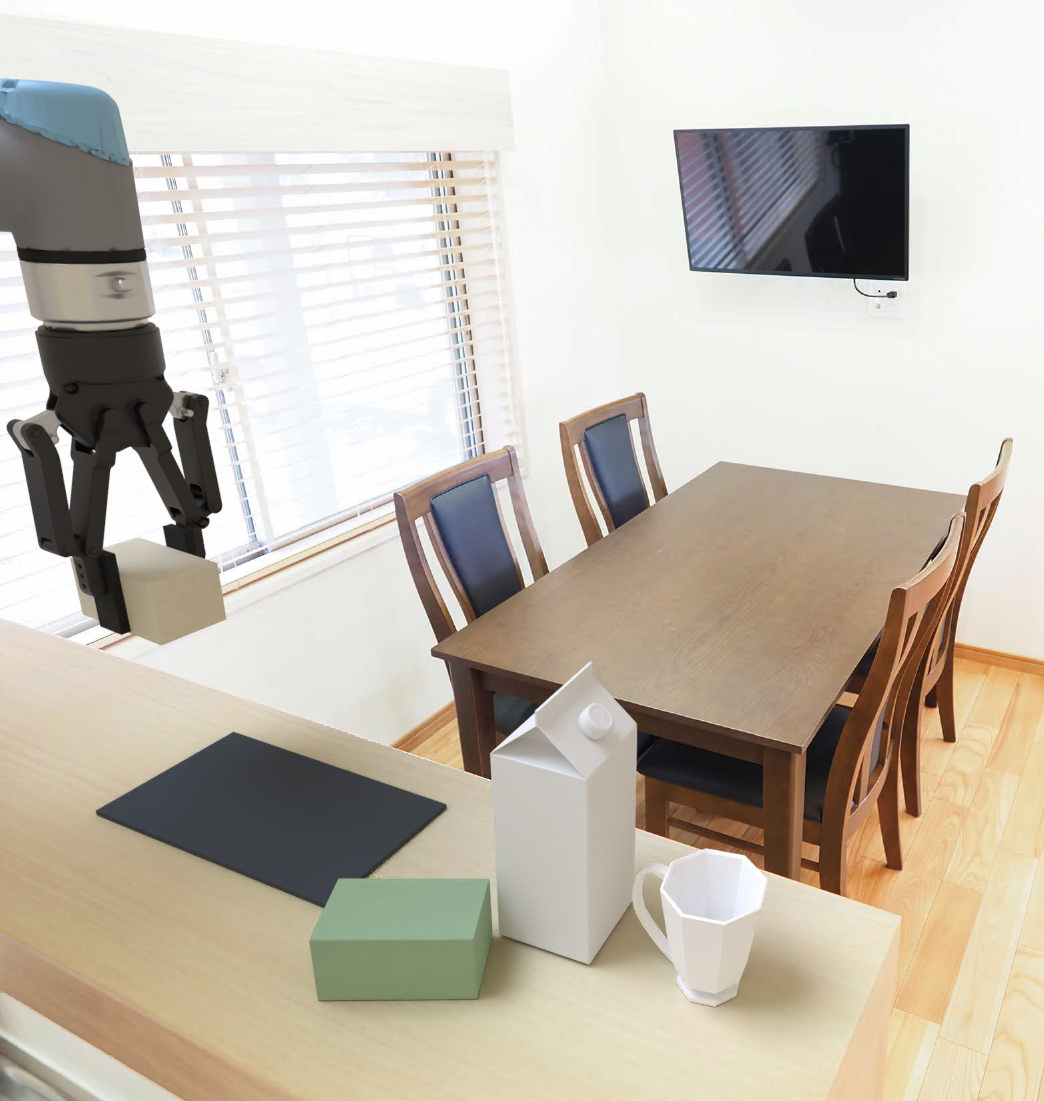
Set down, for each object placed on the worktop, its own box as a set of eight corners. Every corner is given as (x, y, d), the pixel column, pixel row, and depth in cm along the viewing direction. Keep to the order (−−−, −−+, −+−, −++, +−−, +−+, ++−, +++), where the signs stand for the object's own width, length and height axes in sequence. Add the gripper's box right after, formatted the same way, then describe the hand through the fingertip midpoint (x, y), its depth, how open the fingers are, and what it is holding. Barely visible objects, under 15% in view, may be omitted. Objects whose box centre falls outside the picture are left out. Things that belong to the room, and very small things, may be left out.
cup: (722, 1043, 58) (728, 941, 55) (600, 966, 63) (601, 870, 60) (781, 972, 63) (790, 876, 60) (665, 907, 68) (668, 816, 65)
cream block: (227, 619, 76) (217, 562, 74) (161, 645, 71) (149, 586, 69) (149, 591, 80) (138, 536, 78) (82, 614, 75) (69, 557, 73)
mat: (96, 814, 75) (95, 810, 74) (234, 735, 86) (233, 731, 86) (328, 909, 66) (327, 905, 66) (446, 807, 78) (446, 803, 77)
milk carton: (498, 936, 65) (486, 698, 58) (550, 872, 71) (545, 650, 64) (588, 967, 63) (587, 724, 56) (635, 898, 69) (639, 672, 62)
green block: (317, 1001, 59) (308, 939, 57) (345, 935, 64) (338, 877, 62) (477, 999, 60) (473, 939, 58) (493, 935, 65) (489, 878, 63)
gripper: (-20, 343, 57) (60, 674, 66) (247, 315, 73) (285, 586, 81) (-85, 329, 61) (0, 647, 69) (185, 305, 76) (227, 567, 84)
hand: (154, 614), depth 75 cm, fingers closed on cream block, 5 cm apart
